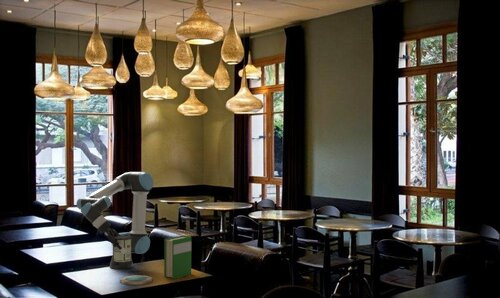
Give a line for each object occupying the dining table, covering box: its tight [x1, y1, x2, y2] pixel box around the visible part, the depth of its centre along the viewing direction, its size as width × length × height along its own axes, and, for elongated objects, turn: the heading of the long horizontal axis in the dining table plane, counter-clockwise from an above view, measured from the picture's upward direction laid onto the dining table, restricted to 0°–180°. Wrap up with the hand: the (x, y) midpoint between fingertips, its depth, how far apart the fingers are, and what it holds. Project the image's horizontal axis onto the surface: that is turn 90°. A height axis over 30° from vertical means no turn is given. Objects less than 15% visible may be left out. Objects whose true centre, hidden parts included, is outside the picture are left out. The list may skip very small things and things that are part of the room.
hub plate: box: [119, 274, 153, 286], centre depth 337 cm, size 19×19×2 cm
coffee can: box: [114, 236, 132, 262], centre depth 334 cm, size 10×10×14 cm
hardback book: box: [163, 235, 192, 280], centre depth 352 cm, size 18×7×24 cm, turn 148°
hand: (127, 251), depth 334 cm, fingers closed on coffee can, 10 cm apart
